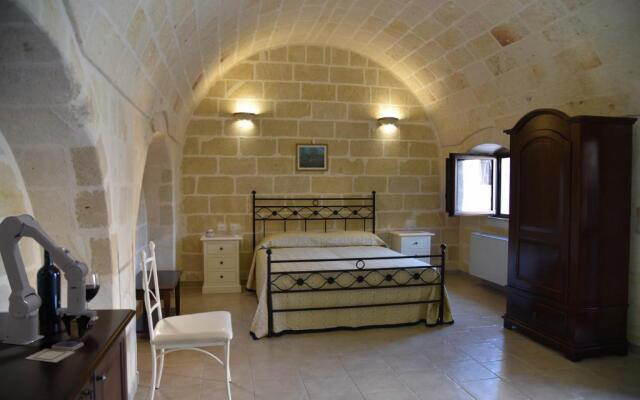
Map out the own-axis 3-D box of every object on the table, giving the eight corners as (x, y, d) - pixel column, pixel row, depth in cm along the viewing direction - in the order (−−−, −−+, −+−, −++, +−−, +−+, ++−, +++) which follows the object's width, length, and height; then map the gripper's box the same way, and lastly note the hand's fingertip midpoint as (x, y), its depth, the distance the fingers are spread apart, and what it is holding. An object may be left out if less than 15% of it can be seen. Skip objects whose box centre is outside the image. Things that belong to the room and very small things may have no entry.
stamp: (66, 341, 152) (66, 322, 152) (75, 336, 156) (75, 318, 156) (77, 342, 151) (77, 323, 151) (86, 337, 156) (86, 319, 155)
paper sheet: (25, 359, 137) (25, 357, 137) (45, 349, 145) (45, 348, 145) (55, 362, 135) (55, 361, 135) (74, 352, 143) (74, 351, 143)
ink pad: (51, 348, 145) (51, 344, 145) (62, 343, 150) (62, 339, 150) (72, 351, 144) (72, 347, 144) (83, 345, 149) (83, 341, 149)
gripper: (49, 299, 151) (49, 337, 151) (86, 302, 148) (86, 341, 149) (64, 293, 157) (64, 330, 158) (100, 297, 155) (100, 334, 156)
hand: (76, 335), depth 154 cm, fingers closed on stamp, 4 cm apart
